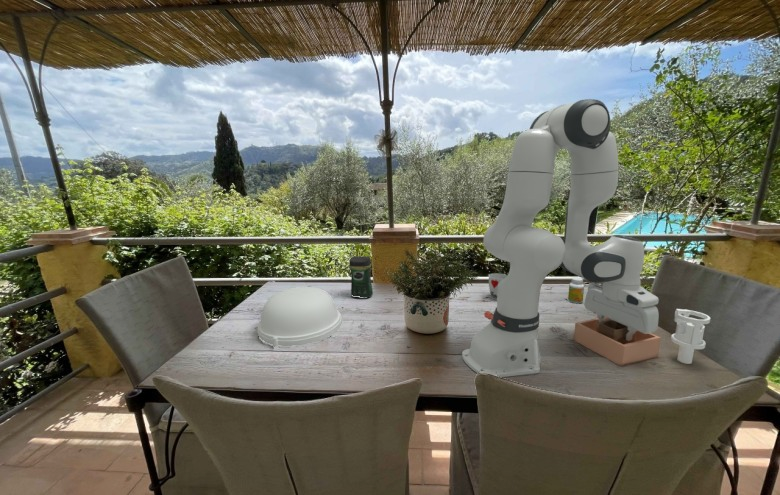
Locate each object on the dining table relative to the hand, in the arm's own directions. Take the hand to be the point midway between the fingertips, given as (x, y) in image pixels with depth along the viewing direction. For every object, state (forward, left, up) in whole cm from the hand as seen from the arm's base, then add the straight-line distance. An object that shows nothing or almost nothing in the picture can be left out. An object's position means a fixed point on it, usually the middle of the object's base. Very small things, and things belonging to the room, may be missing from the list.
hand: (615, 334), depth 99 cm
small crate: (0, 0, -2) cm, 2 cm away
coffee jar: (-60, +74, -5) cm, 96 cm away
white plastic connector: (+11, -12, -5) cm, 17 cm away
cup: (-6, +48, -5) cm, 49 cm away
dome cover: (-89, +51, -5) cm, 103 cm away
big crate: (0, 0, -5) cm, 5 cm away
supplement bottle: (+21, +33, -5) cm, 39 cm away
